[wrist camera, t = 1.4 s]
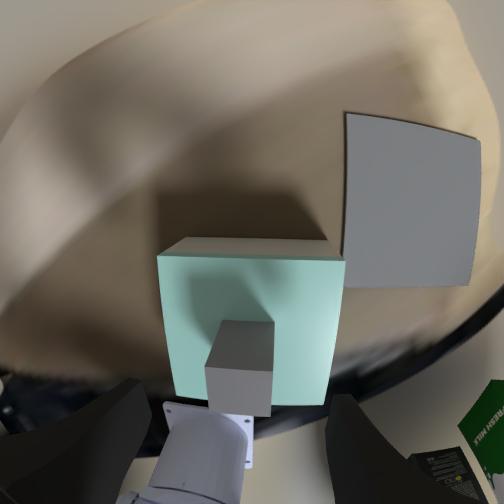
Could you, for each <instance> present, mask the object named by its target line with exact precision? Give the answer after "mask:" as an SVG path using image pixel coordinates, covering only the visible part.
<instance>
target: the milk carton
mask: <svg viewBox="0 0 504 504" xmlns="http://www.w3.org/2000/svg"><path fill="white" fill-rule="evenodd" d="M458 427H459V429H460V431H461V432H462V434H463V436H464V437H465V439H466V441H467V443H468V444H469V446H470V448H471V449H472V451H473V453H474V455H475V456H476V458H477V460H478V462H479V464H480V466H481V468H482V470H483V472H484V474H485V476H486V478H487V480H488V482H489V484H490V486H491V488H492V490H493V493H494V495H495V497H496V499H497V502H498V504H504V380H491V381H490V383H489V384H488V386H487V387H486V389H485V390H484V391H483V393H482V394H481V396H480V397H479V399H478V400H477V401H476V403H475V404H474V405H473V407H472V408H471V409H470V411H469V412H468V413H467V414H466V416H465V417H464V418H463V420H462V421H461V422H460V423H459V424H458Z"/></svg>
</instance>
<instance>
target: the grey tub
mask: <svg viewBox="0 0 504 504" xmlns="http://www.w3.org/2000/svg"><path fill="white" fill-rule="evenodd" d="M164 252H184V253H220V254H257V255H295V256H334V257H342V256H341V255H340V254H339V253H338V251H337V250H336V249H335V248H334V247H333V246H332V244H331V243H330V242H329V241H328V240H303V239H265V238H216V237H185V238H184V239H182V240H181V241H179V242H178V243H176V244H174V245H173V246H171V247H170V248H168V249H167V250H165V251H164Z"/></svg>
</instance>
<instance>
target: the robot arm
mask: <svg viewBox="0 0 504 504" xmlns="http://www.w3.org/2000/svg"><path fill="white" fill-rule="evenodd" d="M163 408H164V412H165V416H166V419H167V423H168V426H169V430H170V433H169V435H168V438H167V440H166V442H165V445H164V447H163V450H162V452H161V454H160V457H159V459H158V462H157V464H156V467H155V469H154V471H153V474H152V476H151V479H150V481H149V483H148V486H147V485H143V487H142V489H141V492H140V494H139V493H136V492H134V491H130V492H129V493H126V494H123V495H121V496H120V497H119V498H118V500H117V497H118V494H119V491H120V488H121V485H122V482H123V480H124V478H125V475H126V473H127V471H128V469H129V467H130V465H131V463H132V461H133V460H134V458H135V456H136V454H137V452H138V450H139V448H140V446H141V444H142V442H143V440H144V438H145V436H146V433H147V430H148V427H149V424H150V421H151V418H152V413H151V410H150V407H149V403H148V400H147V396H146V393H145V389H144V386H143V382H142V380H137V379H132V378H128V379H126V380H124V381H123V382H121V383H120V384H118V385H117V386H116V387H114V388H113V389H111V390H110V391H108V392H107V393H105V394H104V395H102V396H101V397H99V398H98V399H96V400H95V401H93V402H92V403H90V404H88V405H87V406H85V407H83V408H82V409H80V410H78V411H76V412H75V413H73V414H71V415H69V416H67V417H65V418H63V419H61V420H59V421H57V422H54V423H52V424H50V425H47V426H44V427H41V428H38V429H35V430H32V431H28V432H25V433H20V434H15V435H10V436H2V437H0V504H240V499H241V491H242V484H243V478H244V470H245V468H252V466H253V422H254V416H246V415H233V414H223V413H214V412H209V407H201V406H194V405H187V404H181V403H175V402H169V401H166V402H164V404H163ZM246 419H248V420H246ZM325 438H326V452H327V458H328V464H329V469H330V474H331V480H332V485H333V490H334V496H335V504H483V502H482V501H480V500H477V499H474V498H471V497H469V496H466V495H463V494H460V493H458V492H456V491H454V490H452V489H450V488H448V487H446V486H444V485H442V484H440V483H439V482H437V481H436V480H434V479H432V478H431V477H429V476H428V475H426V474H424V473H423V472H422V471H420V470H419V469H418V468H416V467H415V466H414V465H413V464H411V463H410V462H409V461H408V460H407V459H405V458H404V457H403V456H402V455H401V454H400V453H399V452H398V451H397V450H396V449H395V448H394V447H393V446H392V445H391V444H390V443H389V442H388V441H387V440H386V439H385V438H384V436H383V435H382V434H381V433H380V432H379V431H378V429H377V428H376V427H375V426H374V425H373V424H372V422H371V421H370V420H369V418H368V417H367V416H366V415H365V413H364V412H363V411H362V409H361V408H360V406H359V405H358V404H357V402H356V401H355V399H354V398H353V397H352V396H351V395H350V394H342V395H334V397H333V401H332V405H331V409H330V413H329V417H328V421H327V425H326V428H325ZM116 500H117V501H116Z"/></svg>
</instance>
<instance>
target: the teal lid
mask: <svg viewBox="0 0 504 504" xmlns="http://www.w3.org/2000/svg"><path fill="white" fill-rule="evenodd" d="M157 262H158V273H159V284H160V293H161V302H162V310H163V318H164V325H165V332H166V339H167V346H168V352H169V358H170V364H171V369H172V375H173V380H174V385H175V390H176V395H177V396H183V397H190V398H197V399H205V400H208V404H209V412H214V413H223V414H233V415H246V416H264V417H270V414H271V405H323V403H324V399H325V394H326V389H327V385H328V380H329V375H330V370H331V364H332V359H333V353H334V347H335V341H336V335H337V329H338V322H339V315H340V307H341V300H342V292H343V283H344V274H345V263H346V261H345V260H344V258H343V257H334V256H295V255H257V254H220V253H184V252H162V253H161V254H159V255H158V256H157Z"/></svg>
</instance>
